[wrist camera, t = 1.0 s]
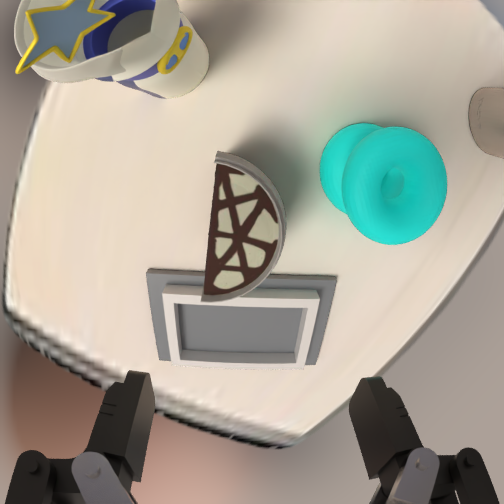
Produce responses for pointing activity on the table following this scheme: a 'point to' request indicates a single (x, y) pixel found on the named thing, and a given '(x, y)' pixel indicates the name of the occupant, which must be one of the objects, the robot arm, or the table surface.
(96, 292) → the table surface
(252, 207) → the food container
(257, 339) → the tray
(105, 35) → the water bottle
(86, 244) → the table surface
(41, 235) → the table surface
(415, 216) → the donuts
